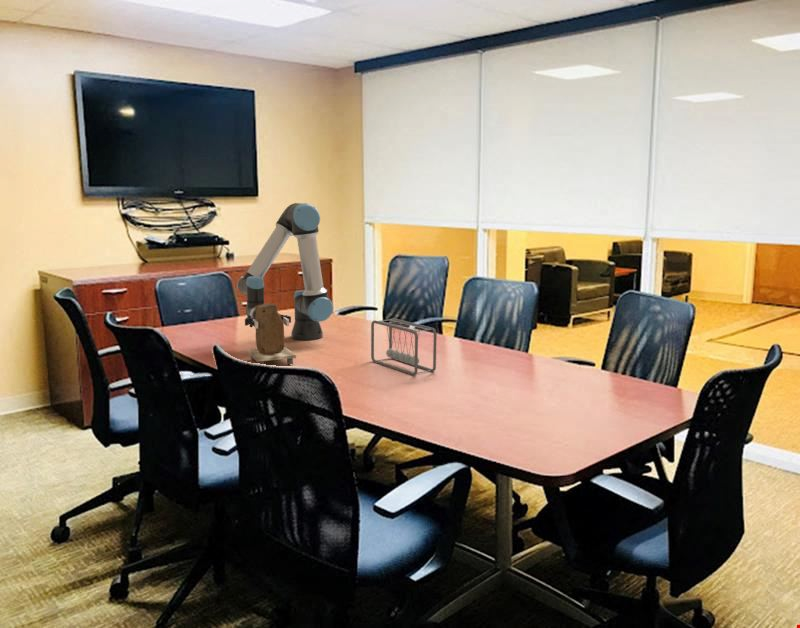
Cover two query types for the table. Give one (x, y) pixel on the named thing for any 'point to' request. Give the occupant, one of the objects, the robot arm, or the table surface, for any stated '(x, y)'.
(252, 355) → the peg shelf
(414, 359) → the newton's cradle
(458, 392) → the table surface
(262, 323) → the block
